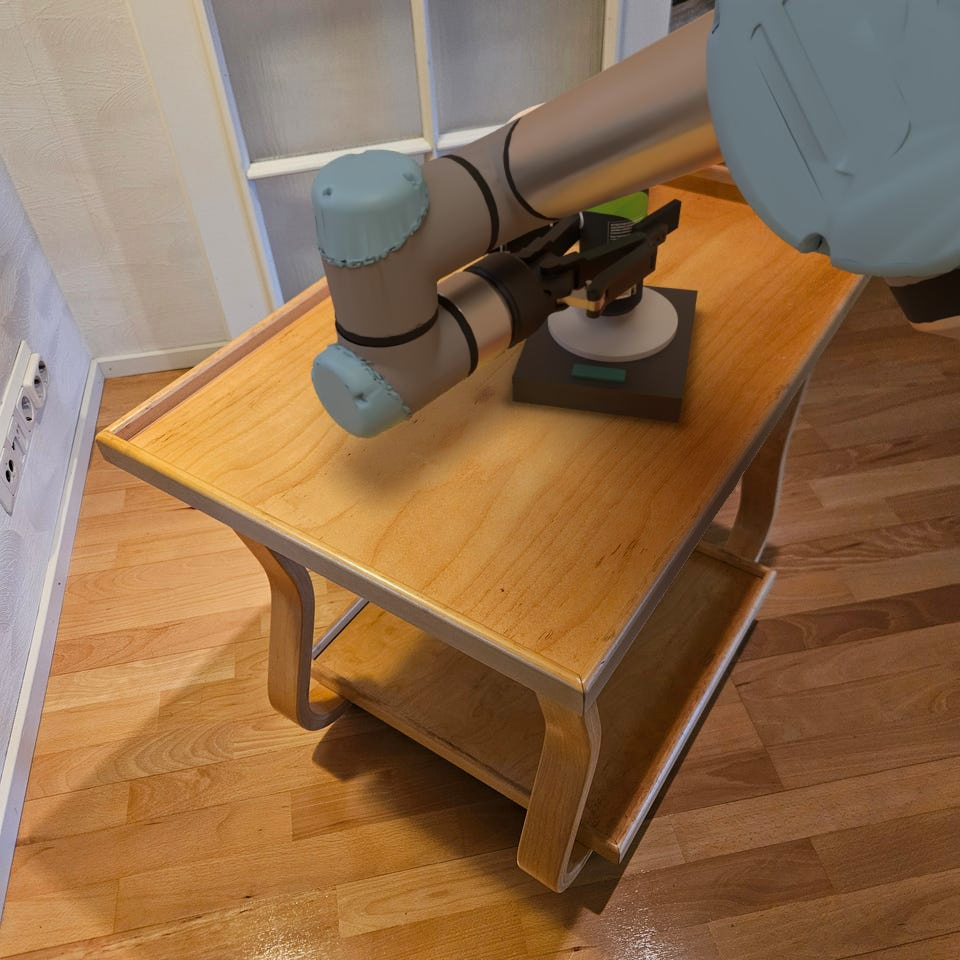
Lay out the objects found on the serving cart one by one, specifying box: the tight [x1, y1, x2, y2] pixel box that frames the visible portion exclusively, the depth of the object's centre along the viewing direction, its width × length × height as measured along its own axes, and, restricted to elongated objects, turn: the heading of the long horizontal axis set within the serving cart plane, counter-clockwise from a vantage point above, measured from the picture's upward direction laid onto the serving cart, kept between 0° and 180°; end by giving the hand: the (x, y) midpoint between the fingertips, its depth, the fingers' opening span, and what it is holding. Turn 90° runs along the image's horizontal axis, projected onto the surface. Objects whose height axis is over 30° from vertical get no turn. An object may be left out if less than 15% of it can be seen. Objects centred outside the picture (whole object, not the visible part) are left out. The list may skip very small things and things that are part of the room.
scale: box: [511, 284, 699, 424], centre depth 84 cm, size 16×18×4 cm
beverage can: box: [578, 188, 650, 317], centre depth 78 cm, size 6×6×15 cm
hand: (654, 205), depth 79 cm, fingers closed on beverage can, 4 cm apart
